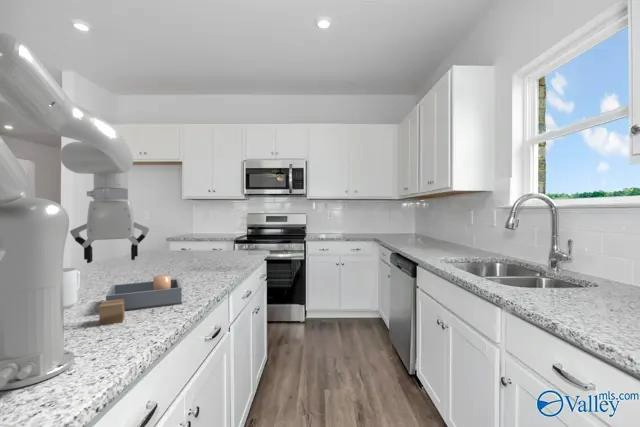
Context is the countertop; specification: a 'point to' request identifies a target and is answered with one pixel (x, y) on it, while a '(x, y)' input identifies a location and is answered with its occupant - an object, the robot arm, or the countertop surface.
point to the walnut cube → (111, 312)
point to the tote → (145, 295)
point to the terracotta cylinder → (161, 282)
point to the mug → (70, 287)
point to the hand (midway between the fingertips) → (112, 260)
